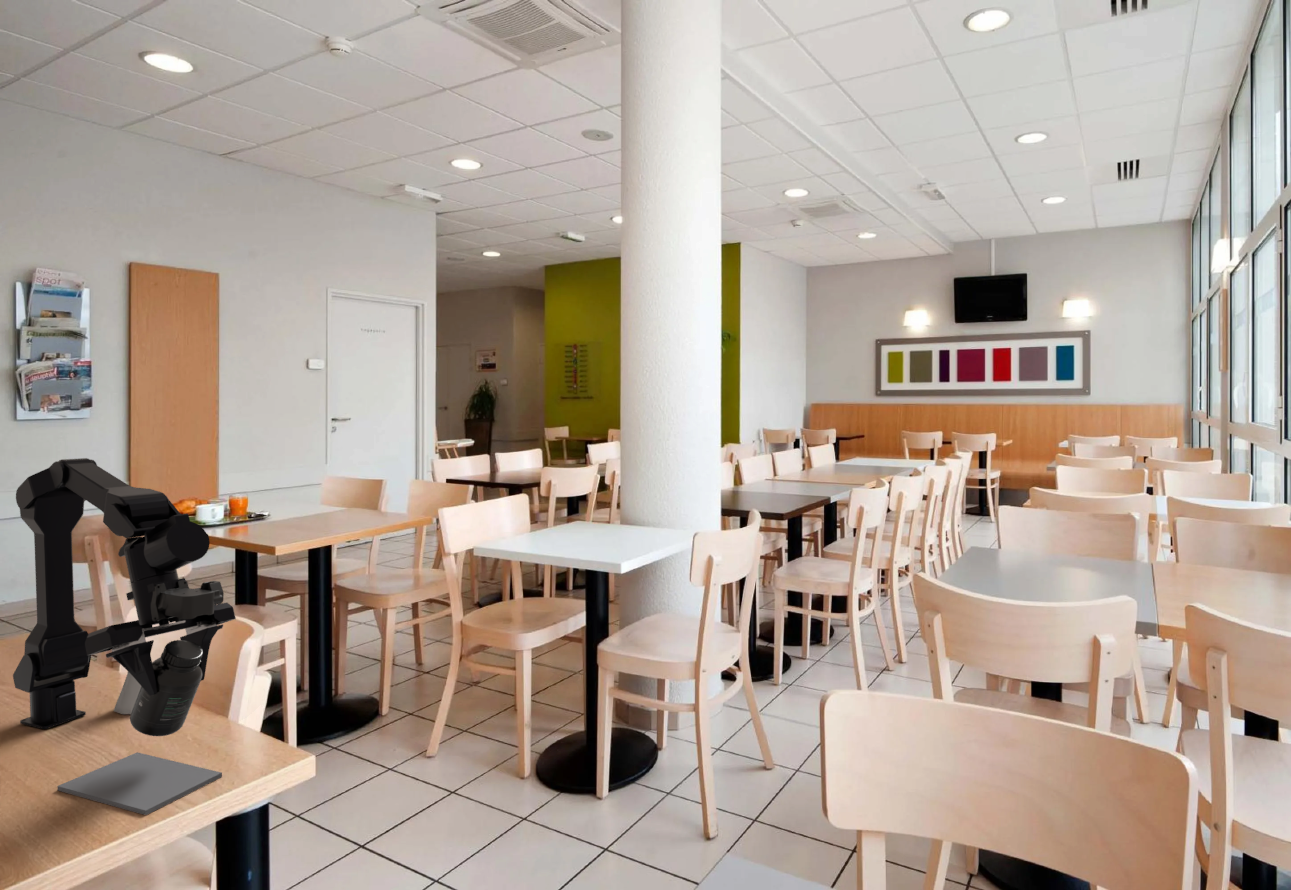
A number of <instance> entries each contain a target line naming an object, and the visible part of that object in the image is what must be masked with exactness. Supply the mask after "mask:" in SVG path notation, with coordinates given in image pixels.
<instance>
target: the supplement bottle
mask: <svg viewBox="0 0 1291 890" xmlns="http://www.w3.org/2000/svg"><path fill="white" fill-rule="evenodd" d="M202 655H203V650H202V648H201V647H200V646H199V645H198V644H196V643H193V642H190V641H186V640H181V639H177V640H170V641H169V642H168V643H166V645H164V648H163V651H162V652H161V655H160V657H158V658H156V659H155V660H153V661H152V665H153V669H154V674H155V679H156V685H157V694H154V695H151V696H150V695H149V694H148V693H147V692H146V691H145V690H144V689H143V687H142V686H141V688H140V691H139V693H138V696H137V699H136V701H135V704H134V707H133V709H132V712H131V714H129V715H130V716H129V722H130V724H131V726H132V727H133V729H135V730H136V731H137V732H139V733H140V734H143V735H146V736H149V737H165V736H166V737H167V736H170V735H172V734H175V733H176V732H178V731H180V729H182V727H183V726H184V724H185V722H186V719H187V717H188V714H189V712H190V709H191V707H192V704H193V701H194V699H195V697H196V694H197V692H198V689H199V687H200V683H201V682H202V681H201V678H202V669H201V667H200V666H199V664H200V662H201V657H202Z"/></svg>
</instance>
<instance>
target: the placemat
mask: <svg viewBox="0 0 1291 890" xmlns="http://www.w3.org/2000/svg"><path fill="white" fill-rule="evenodd" d="M220 778H223V772H221V771H217V770H213V769H209V768H204V767H200V766H197V765H192V764H188V763H184V762H179V761H175V760H171V759H167V758H162V757H158V756H156V755H154V756H153V755H150V754H146V753H141V752H139V751H137V752H134V753H132V754H129V755H127V756H125V757H123V758H120V759H118V760H116V761H113V762H111V763H108V764H106V765H105V766H104V765H103V766H101V767H99V768H97V769H94V770H92V771H89V772H88V773H85V774H83V775H80V776H78V777H75V778H72V779H71V780H68V781H66V782H64V783H61V784H59V785H57V787H56V788H57V791H59V792H61V793H62V792H63V793H66V794H69V795H71V796H72V795H73V796H76V797H80V798H83V799H87V800H90V801H94V802H98V803H101V804H105V805H109V806H112V807H114V808H119V809H122V810H126V811H130V812H134V813H137V814H139V815H140V814H141V815H144V816H147V815H149V814H151V813H153V812H155V811H158V810H159V809H161V808H163V807H165V806H167V805H168V804H169V805H170V804H171V803H173V802H175V801H177V800H179V799H181V798H183V797H185V796H187V795H189V794H191V793H193V792H195V791H197V790H198V789H201V788H202V787H205V786H206V785H208V784H211V783H212V782H215V781H216V780H218V779H219V780H220Z"/></svg>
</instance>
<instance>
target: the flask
mask: <svg viewBox="0 0 1291 890" xmlns="http://www.w3.org/2000/svg"><path fill="white" fill-rule="evenodd" d="M126 673H127V674H126V677H125V679H124V682H123V686H122V688H121V691H120V693H119V696H118V698H117V700H116V703H115V705H114V708H113V712H115V713H117V714H121V715H131V712H132V709H133V707H134V704H135V701H136V699H137V696H138V693H139V691H140V688H141V685H140V684H139V683H138V682H137V681H136V679H135V678H134V677H133V676H132V675H131V674H130V673H129V672H128V671H127V672H126Z"/></svg>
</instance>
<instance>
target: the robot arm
mask: <svg viewBox="0 0 1291 890" xmlns="http://www.w3.org/2000/svg"><path fill="white" fill-rule="evenodd" d="M15 491H16V492H15V501H16V505H17V507H18V508H19V514H20V518H21V520H22V521H23V522H24V523H25V524H26V525H27V527H28V528H29V529H30V530H31V531H32V533H33V537H34V539H33V540H34V565H35V566H34V567H35V569H34V570H35V572H34V573H35V593H36V594H35V597H36V599H35V600H36V624H35V626H34V627H33V628H32V630H31V632H30V633H29V635H28V636H27V637H26V638H25V639H26V640H25V641H24V653H23V656H22V657H21V659H20V661H19V663H18V665H17V666H16V669H15V670H14V673H12V678H13V684H14V687H15V689H17V690H19V691H23V692H25V693H29V708H30V709H29V711H30V712H29V713H30V716H29V717H26V718H22V719H21V720H20V721H19V723H20V725H21V724H22V725H25V726H29V727H34V728H37V729H42V730H48V729H51V728H52V727H55V726H59V725H61V724H64V723H67V722H69V721H72V720H76V719H79V718H81V717H83V716H85V715H87V713H86V711H83V710H80V709H77V697H76V695H77V693H76V683H75V682H76V681H75V680H78V679H84V678H88V676H89V671H90V666H91V660H92V655H95V654H100V653H105V652H108V651H109V652H108V653H106V654H105V657H106V659H107V658H108V659H109V658H113V659H114V660H115V661H116V662H117V663H119V665H121V666H122V667H123V668H124V669H125V670H126V671H127V673H128V672H129V673H130V674H131V675H132V676H133V677H134V678H135V679H136V681H137V682H138V683H139V684H140V685H141V686H142V687H143V689H144V690H145V691H146V692H147V693H148V694H149V695H150V696H151V695H154V694H157V685H156V679H155V674H154V669H153V665H152V662H153V661H152V655H151V653H152V649H153V646H154V642H155V641H154V639H152V640H148V641H147V640H146V638H151V637H154V636H159V635H164V634H167V633H173V632H176V631H181V630H185V633H186V635H183V636H179V637H180V638H179V640H186V641H190V642H193V643H196V644H198V645H199V646H200V647H201V648H202V650H203V655H202V657H201V662H200V664H199V666H200V667H201V669H202V678H201V681H200V682H202V681H204V679H205V678H206V677H205V676H206V670H207V663H208V657H209V652H210V647H211V643H212V640H213V638H214V637H215V635H216V634H217V632H218V631H219V630H221V629H223V627H224V624H226V623H229V622H231V621H233V620H236V618H237V617H236V614H235V608H234V607H233V606H232V605H230V603H229V602H223V601H224V595H225V594H224V590H223V589H224V588H223V586H222V583H221V581H218V580H211V581H205V582H202V584H201V586H200V587H196V588H195V587H194V588H190V587H189V583H188V581H187V580H186V578H185V577H184V578H179V574H178V569H180V568H182V567H186V566H187V565H189V564H192V563H194V562H196V561H198V560H200V559H202V558H203V557H204V556H205V555H206V554H207V553H208V550H209V549H210V543H211V542H210V537H209V534H208V533H207V532H206V530H205V529H204V528H203V527H202V526H201V525H200V524H198V523H196V522H194V521H191V519H190V515H189V514H188V513H183V514H182V513H181V512H180V511H179V510H178V509H177V507H176V506H175V505H174V504H173V503H172V501H171V500H170V499H169V498H168V496H167V495H166V494H165V493H163V492H162V491H158V490H155V489H153V488H152V489H151V488H146V487H145V488H144V487H143V488H142V487H137V486H136V487H134V486H131V485H129V484H128V483H126V482H124V481H123V480H121V479H120V478H118V477H116V476H115V475H113V474H111V472H108V471H107V470H105V469H103V468H102V467H100V466H98V464H97V462H96V461H95V460H94V459H90V458H87V457H83V458H68V459H67V458H64V459H59V460H57V461H54V462H53V463H52V464H50V466H49V467H47V468H45V469H43V470H41V471H38V472H36V473H34V474H32V475H29V476H28V477H26V479H25V480H24V481H23V482H22V483H21V484H20V485H19V486H18V487H17V489H16V490H15ZM85 502H88V503H89V504H90V505H92V506H94V507H95V508H97V509H98V510H100V511H101V512H102V513H103V519H102V523H103V524H104V525H105V526H106V527H107V528H108V529H109V530H110V531H111V532H112V533H113V534H114V535H116V536H118V537H123V538H125V541H124V543H123V545H122V546H121V547H120V548H119V551H118V553H117V554H118V555H117V556H119V557H121V558H122V557H124V558H125V562H126V568H127V571H128V576H129V582H130V586H131V591H128V592H126V593H125V595H126V600H127V601H132V600H133V601H134V605H135V609H136V610H135V611H136V614H137V620H131V621H127V622H121V623H117V624H112V625H108V626H106V627H105V626H104V627H102V628H100V629H97V630H95V631H92V632H88V631H87V630H83V628H82V627H81V626H80V624H78V622H76V620H75V599H74V597H75V596H74V595H75V593H74V567H73V566H74V565H73V564H74V562H73V536H72V535H73V530H74V529H75V528H76V526H77V525H78V523H79V521H80V520H81V518H82V517H83V516H84V510H85V509H84V508H85ZM156 625H157V626H156ZM110 651H112V652H110Z"/></svg>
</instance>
